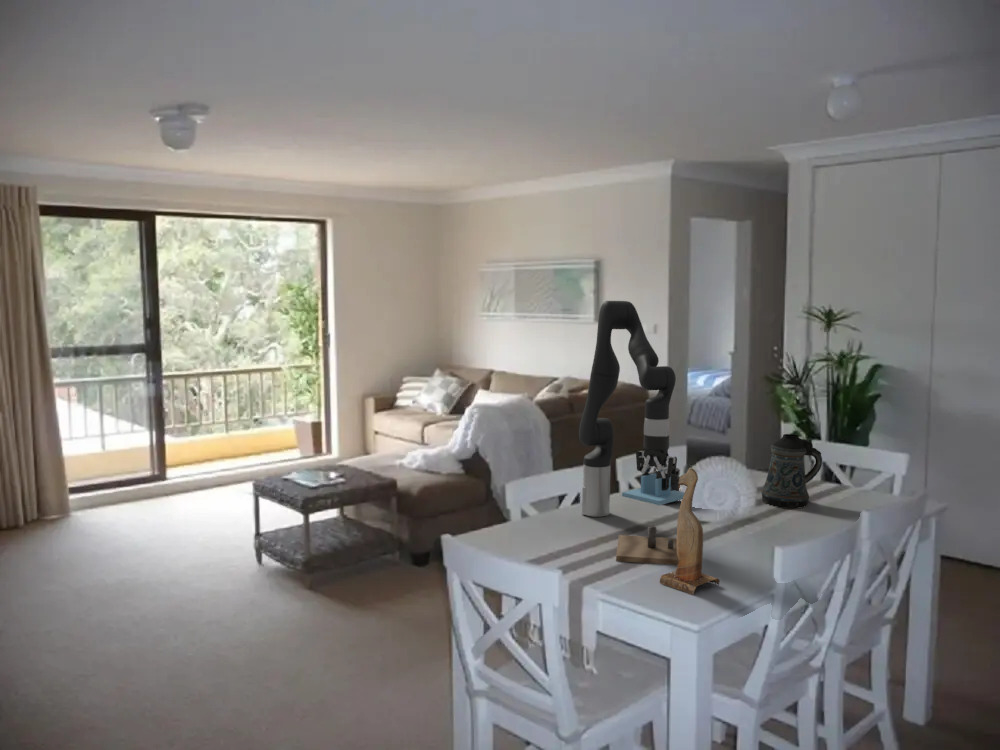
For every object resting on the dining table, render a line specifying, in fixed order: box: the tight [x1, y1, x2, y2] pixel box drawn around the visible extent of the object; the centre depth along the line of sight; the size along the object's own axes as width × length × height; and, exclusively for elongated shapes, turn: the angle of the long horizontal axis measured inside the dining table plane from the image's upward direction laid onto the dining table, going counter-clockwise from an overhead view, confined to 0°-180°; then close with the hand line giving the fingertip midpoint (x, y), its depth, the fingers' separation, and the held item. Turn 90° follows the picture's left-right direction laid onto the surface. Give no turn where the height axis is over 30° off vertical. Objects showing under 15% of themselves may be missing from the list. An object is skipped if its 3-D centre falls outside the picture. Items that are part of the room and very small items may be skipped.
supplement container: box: [652, 466, 681, 505], centre depth 303 cm, size 10×10×12 cm
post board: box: [615, 525, 679, 566], centre depth 245 cm, size 20×20×8 cm
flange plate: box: [621, 472, 685, 506], centre depth 248 cm, size 14×14×6 cm
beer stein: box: [761, 433, 823, 509], centre depth 301 cm, size 16×19×25 cm
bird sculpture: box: [659, 467, 720, 595], centre depth 218 cm, size 11×12×32 cm
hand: (655, 487), depth 248 cm, fingers closed on flange plate, 6 cm apart
